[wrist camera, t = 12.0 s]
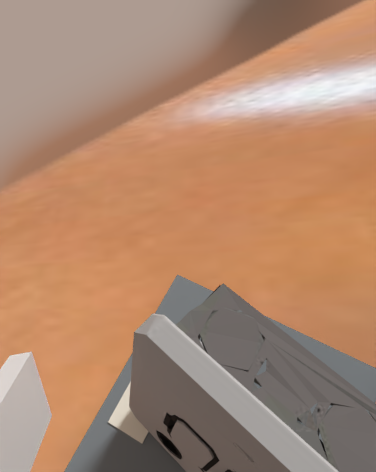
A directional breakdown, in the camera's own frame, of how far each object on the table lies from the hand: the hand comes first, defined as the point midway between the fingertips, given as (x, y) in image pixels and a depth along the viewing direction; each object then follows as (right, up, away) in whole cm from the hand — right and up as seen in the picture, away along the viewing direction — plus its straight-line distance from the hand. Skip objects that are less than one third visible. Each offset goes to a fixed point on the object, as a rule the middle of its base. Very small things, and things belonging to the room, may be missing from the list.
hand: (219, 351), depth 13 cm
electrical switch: (+1, -5, +5) cm, 7 cm away
